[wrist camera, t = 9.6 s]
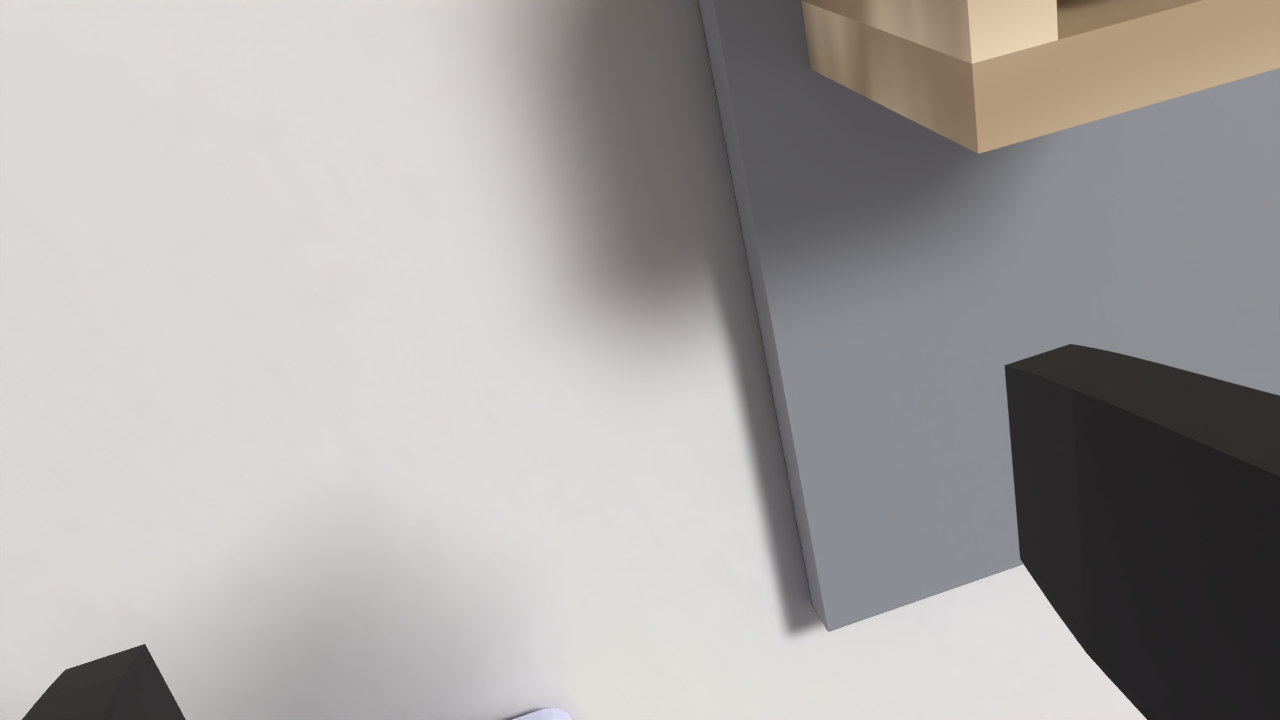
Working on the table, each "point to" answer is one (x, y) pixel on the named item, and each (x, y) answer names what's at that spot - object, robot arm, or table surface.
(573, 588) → the table surface
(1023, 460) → the robot arm
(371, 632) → the table surface
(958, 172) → the slate board
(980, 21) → the birch collar
